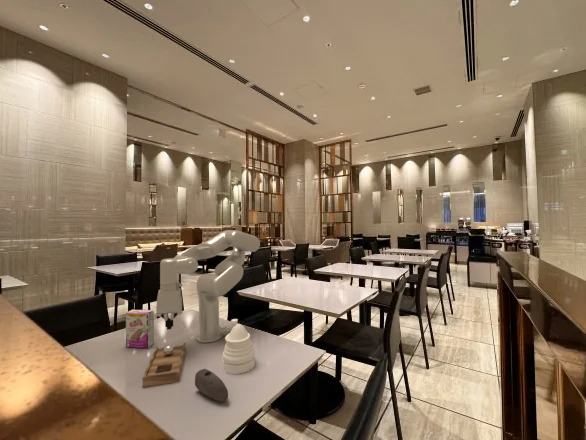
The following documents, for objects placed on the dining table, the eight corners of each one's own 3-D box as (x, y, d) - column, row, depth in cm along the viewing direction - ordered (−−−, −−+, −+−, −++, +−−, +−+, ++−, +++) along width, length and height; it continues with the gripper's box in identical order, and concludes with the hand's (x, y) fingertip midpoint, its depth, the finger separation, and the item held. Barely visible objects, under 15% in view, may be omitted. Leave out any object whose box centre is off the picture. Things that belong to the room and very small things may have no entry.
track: (156, 354, 121) (156, 346, 121) (185, 350, 124) (185, 342, 124) (142, 387, 98) (142, 377, 98) (179, 381, 101) (178, 372, 101)
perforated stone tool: (233, 401, 90) (233, 380, 90) (220, 410, 86) (219, 388, 86) (206, 384, 100) (206, 365, 100) (193, 391, 96) (193, 371, 95)
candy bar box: (125, 348, 127) (124, 312, 127) (132, 343, 132) (131, 309, 132) (148, 349, 126) (147, 313, 126) (154, 344, 131) (154, 309, 131)
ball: (174, 351, 118) (174, 342, 118) (173, 356, 115) (172, 346, 114) (164, 353, 117) (164, 343, 117) (162, 357, 113) (162, 348, 113)
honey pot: (215, 369, 109) (214, 323, 109) (236, 354, 121) (235, 313, 120) (241, 377, 103) (240, 329, 103) (261, 361, 115) (260, 318, 114)
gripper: (188, 283, 128) (188, 323, 128) (152, 285, 124) (152, 326, 124) (186, 287, 120) (186, 329, 120) (148, 290, 116) (148, 333, 116)
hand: (169, 328), depth 122 cm, fingers closed
